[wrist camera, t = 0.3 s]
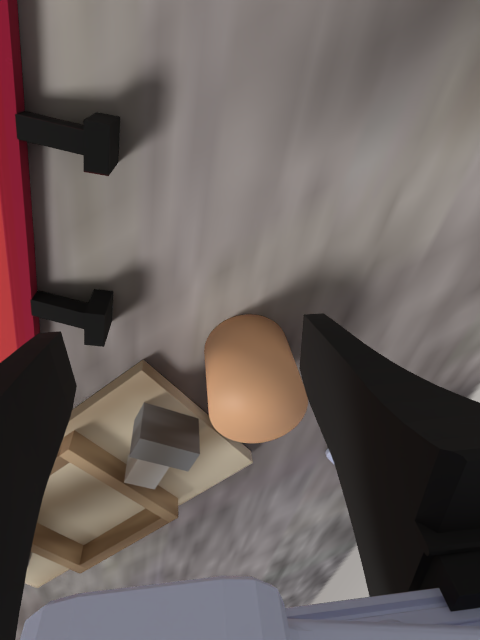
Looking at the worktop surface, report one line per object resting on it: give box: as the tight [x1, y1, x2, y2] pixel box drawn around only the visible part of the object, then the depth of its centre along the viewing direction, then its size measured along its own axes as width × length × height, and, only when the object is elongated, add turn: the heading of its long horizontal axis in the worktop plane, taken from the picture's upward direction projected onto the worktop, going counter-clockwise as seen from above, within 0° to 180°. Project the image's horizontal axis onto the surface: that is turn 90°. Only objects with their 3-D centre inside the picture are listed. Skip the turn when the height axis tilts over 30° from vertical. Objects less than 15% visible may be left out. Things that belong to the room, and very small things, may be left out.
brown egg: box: [204, 314, 308, 443], centre depth 23 cm, size 5×5×5 cm
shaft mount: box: [25, 360, 253, 588], centre depth 28 cm, size 11×22×4 cm, turn 126°
